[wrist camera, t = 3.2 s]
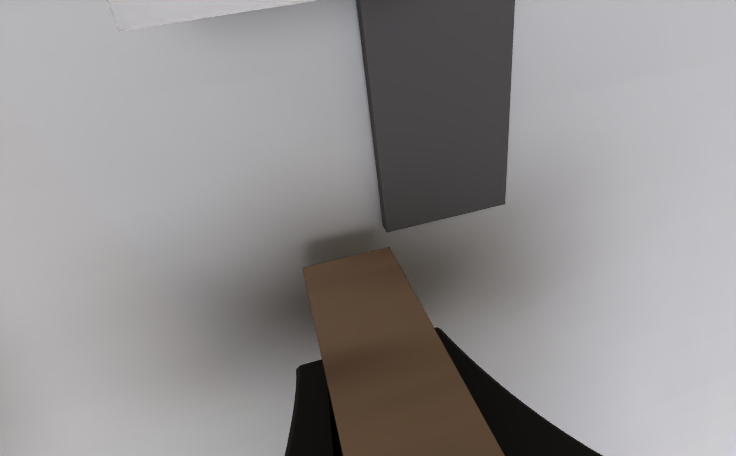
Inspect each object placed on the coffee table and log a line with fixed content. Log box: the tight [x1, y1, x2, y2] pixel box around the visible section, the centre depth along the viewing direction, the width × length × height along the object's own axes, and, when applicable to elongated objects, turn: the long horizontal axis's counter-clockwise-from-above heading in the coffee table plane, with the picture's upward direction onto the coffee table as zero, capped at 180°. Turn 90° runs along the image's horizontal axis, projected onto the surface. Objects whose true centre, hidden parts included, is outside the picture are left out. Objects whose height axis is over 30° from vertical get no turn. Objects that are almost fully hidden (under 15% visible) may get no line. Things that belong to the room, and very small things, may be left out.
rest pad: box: [356, 0, 515, 232], centre depth 12 cm, size 7×4×1 cm, turn 7°
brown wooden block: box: [302, 247, 505, 456], centre depth 11 cm, size 5×2×7 cm, turn 7°
